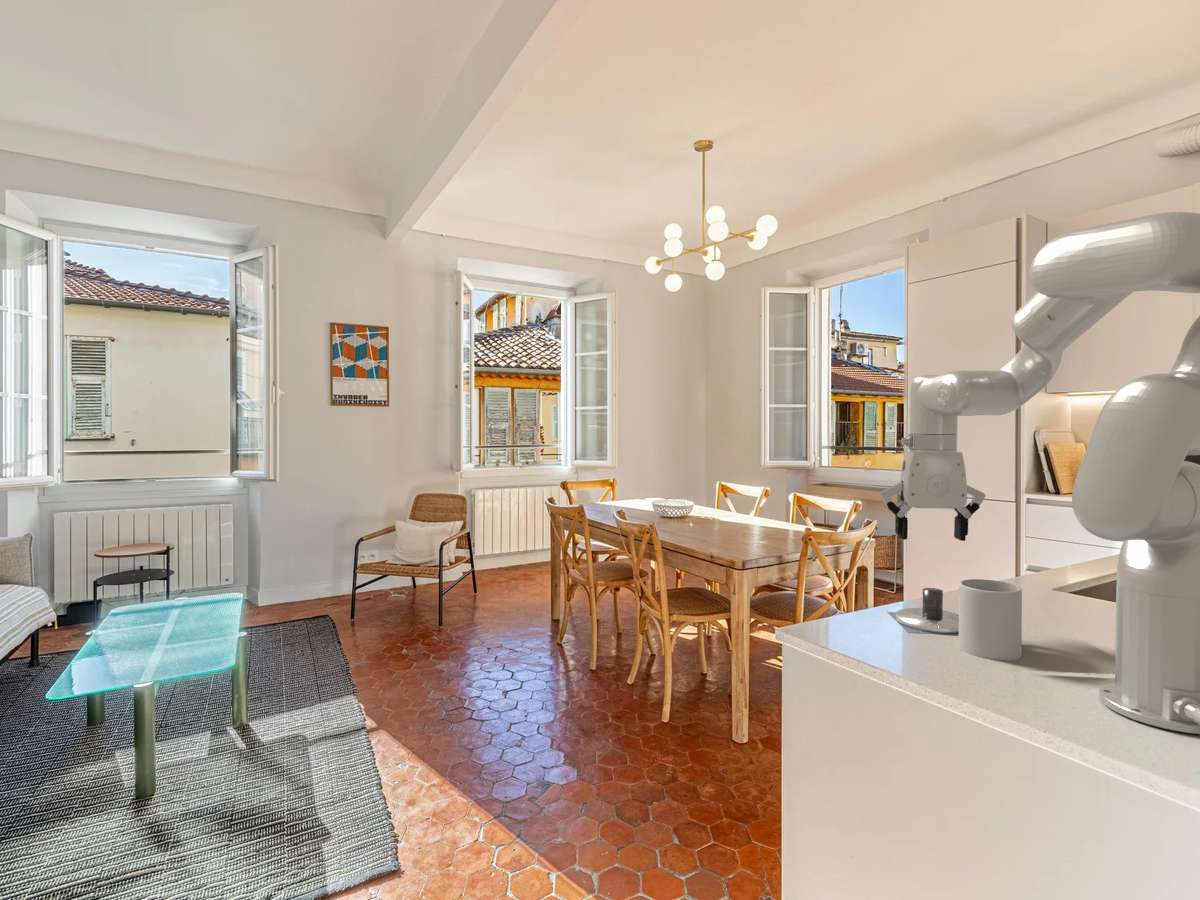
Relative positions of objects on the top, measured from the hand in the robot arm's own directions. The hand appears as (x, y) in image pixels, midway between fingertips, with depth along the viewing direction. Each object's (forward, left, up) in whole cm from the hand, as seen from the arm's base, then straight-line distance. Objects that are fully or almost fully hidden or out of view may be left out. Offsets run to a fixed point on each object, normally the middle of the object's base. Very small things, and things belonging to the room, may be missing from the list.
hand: (930, 538), depth 112 cm
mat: (0, 0, -16) cm, 16 cm away
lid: (0, 0, -15) cm, 15 cm away
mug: (-12, -5, -16) cm, 21 cm away
